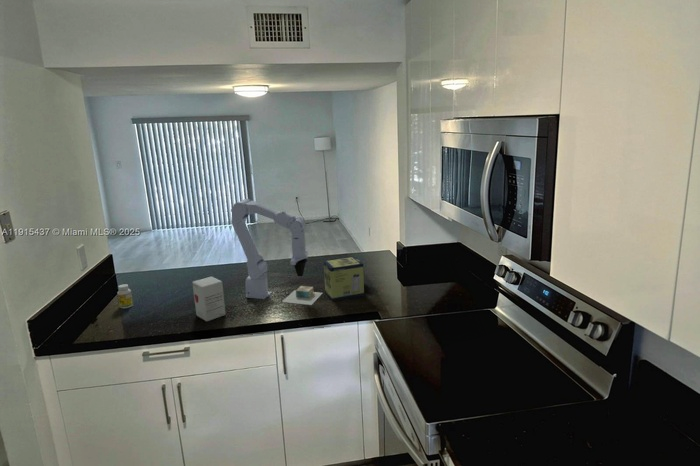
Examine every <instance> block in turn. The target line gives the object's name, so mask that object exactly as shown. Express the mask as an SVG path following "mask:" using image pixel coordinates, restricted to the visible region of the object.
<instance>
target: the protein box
mask: <svg viewBox="0 0 700 466" xmlns="http://www.w3.org/2000/svg"><path fill="white" fill-rule="evenodd" d="M359 260H360V259H358V258H357V257H355V256H353V257H352V256H351V257H345V258H338V259H333V260H332V259H331V260H323V273H324V275H323V276H324V293H325V294H326V295H327V297H328V298H329V299H330V300H331V301H339V300H345V299H346V300H347V299H348V298H349V299H354V298H359V297H364V296H365V281H364V280H365V275H364V271H365V270H364V262H362V261H361V260H360V261H359ZM353 297H354V298H353Z"/></svg>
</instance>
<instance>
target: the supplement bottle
mask: <svg viewBox="0 0 700 466" xmlns="http://www.w3.org/2000/svg"><path fill="white" fill-rule="evenodd" d="M117 290H118V291H117V292H116V293H117V298H118V305H119V308H120V309H129V308H131V307H133V306H134V301H133V296H132V289H130V288H129V284H127V283H126V284H125V283H124V284H120V285H117Z"/></svg>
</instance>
